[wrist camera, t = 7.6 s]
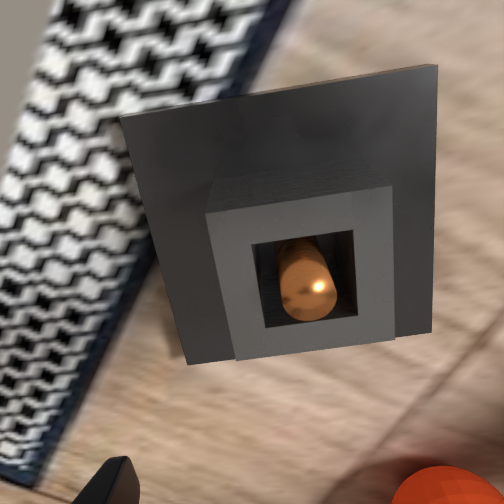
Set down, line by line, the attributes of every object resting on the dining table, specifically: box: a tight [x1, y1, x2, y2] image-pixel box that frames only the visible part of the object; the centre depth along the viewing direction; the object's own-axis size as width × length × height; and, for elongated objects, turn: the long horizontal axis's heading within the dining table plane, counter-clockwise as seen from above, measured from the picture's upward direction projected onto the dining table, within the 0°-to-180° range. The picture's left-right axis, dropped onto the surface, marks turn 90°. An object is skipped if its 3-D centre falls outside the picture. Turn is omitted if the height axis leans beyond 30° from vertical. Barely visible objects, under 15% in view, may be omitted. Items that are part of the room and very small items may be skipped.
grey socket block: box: [120, 64, 438, 365], centre depth 17 cm, size 12×12×6 cm
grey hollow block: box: [205, 157, 395, 361], centre depth 17 cm, size 6×6×4 cm
